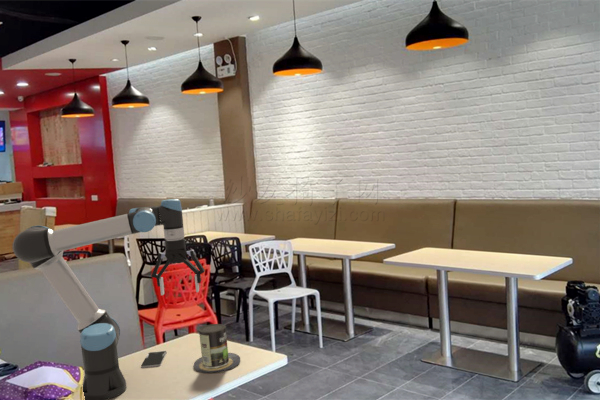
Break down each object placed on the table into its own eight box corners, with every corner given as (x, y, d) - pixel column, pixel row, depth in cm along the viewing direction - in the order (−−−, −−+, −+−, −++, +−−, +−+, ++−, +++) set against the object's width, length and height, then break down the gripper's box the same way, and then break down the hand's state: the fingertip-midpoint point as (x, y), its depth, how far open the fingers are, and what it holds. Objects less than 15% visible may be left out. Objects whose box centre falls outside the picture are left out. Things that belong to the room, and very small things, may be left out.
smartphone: (140, 366, 216) (148, 352, 231) (141, 369, 216) (148, 355, 231) (160, 364, 217) (166, 350, 232) (160, 367, 217) (167, 353, 232)
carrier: (189, 375, 205) (186, 344, 204) (198, 356, 224) (195, 327, 223) (238, 371, 205) (235, 340, 204) (242, 352, 224) (239, 324, 223)
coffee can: (232, 358, 215) (229, 323, 214) (224, 369, 205) (220, 332, 204) (208, 358, 217) (204, 323, 216) (198, 369, 207) (194, 332, 206)
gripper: (139, 243, 208) (145, 298, 210) (205, 237, 208) (210, 292, 210) (144, 240, 215) (150, 293, 217) (208, 234, 216) (213, 287, 218)
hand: (180, 293), depth 214 cm, fingers open, 13 cm apart
